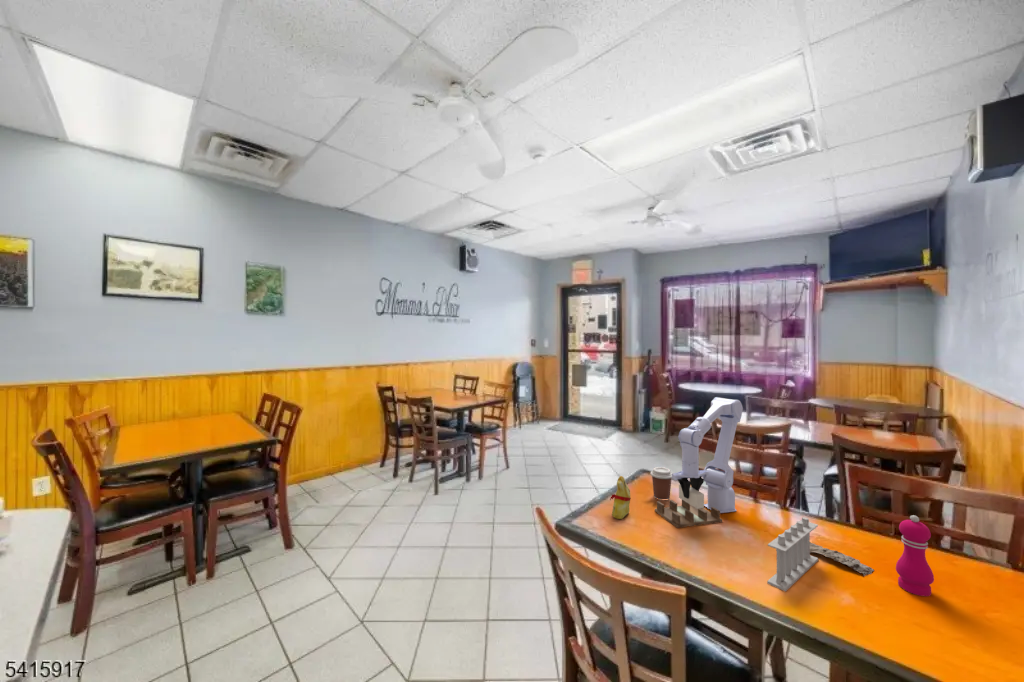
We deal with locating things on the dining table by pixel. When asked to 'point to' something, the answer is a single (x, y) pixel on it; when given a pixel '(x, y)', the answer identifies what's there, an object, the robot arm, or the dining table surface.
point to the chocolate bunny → (621, 499)
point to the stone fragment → (842, 559)
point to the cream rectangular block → (693, 497)
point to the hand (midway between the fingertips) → (690, 497)
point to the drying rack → (687, 514)
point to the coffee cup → (661, 482)
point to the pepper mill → (914, 558)
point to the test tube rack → (792, 554)
